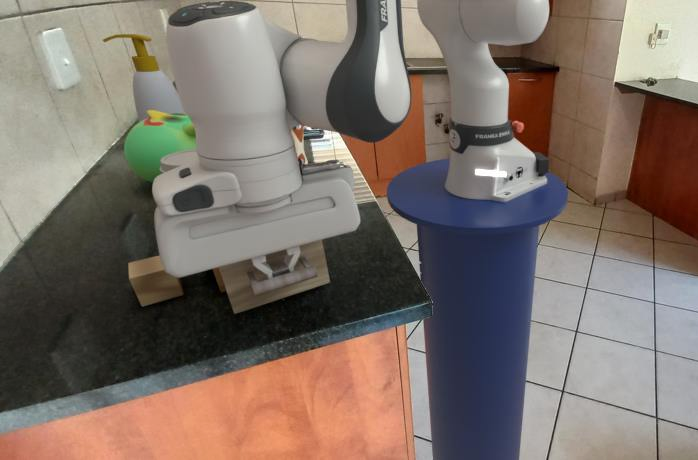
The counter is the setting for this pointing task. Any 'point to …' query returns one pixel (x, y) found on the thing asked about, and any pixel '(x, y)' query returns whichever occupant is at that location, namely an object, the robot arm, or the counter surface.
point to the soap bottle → (150, 82)
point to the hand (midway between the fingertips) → (281, 279)
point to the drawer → (274, 278)
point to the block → (153, 281)
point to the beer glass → (299, 144)
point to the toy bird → (157, 141)
